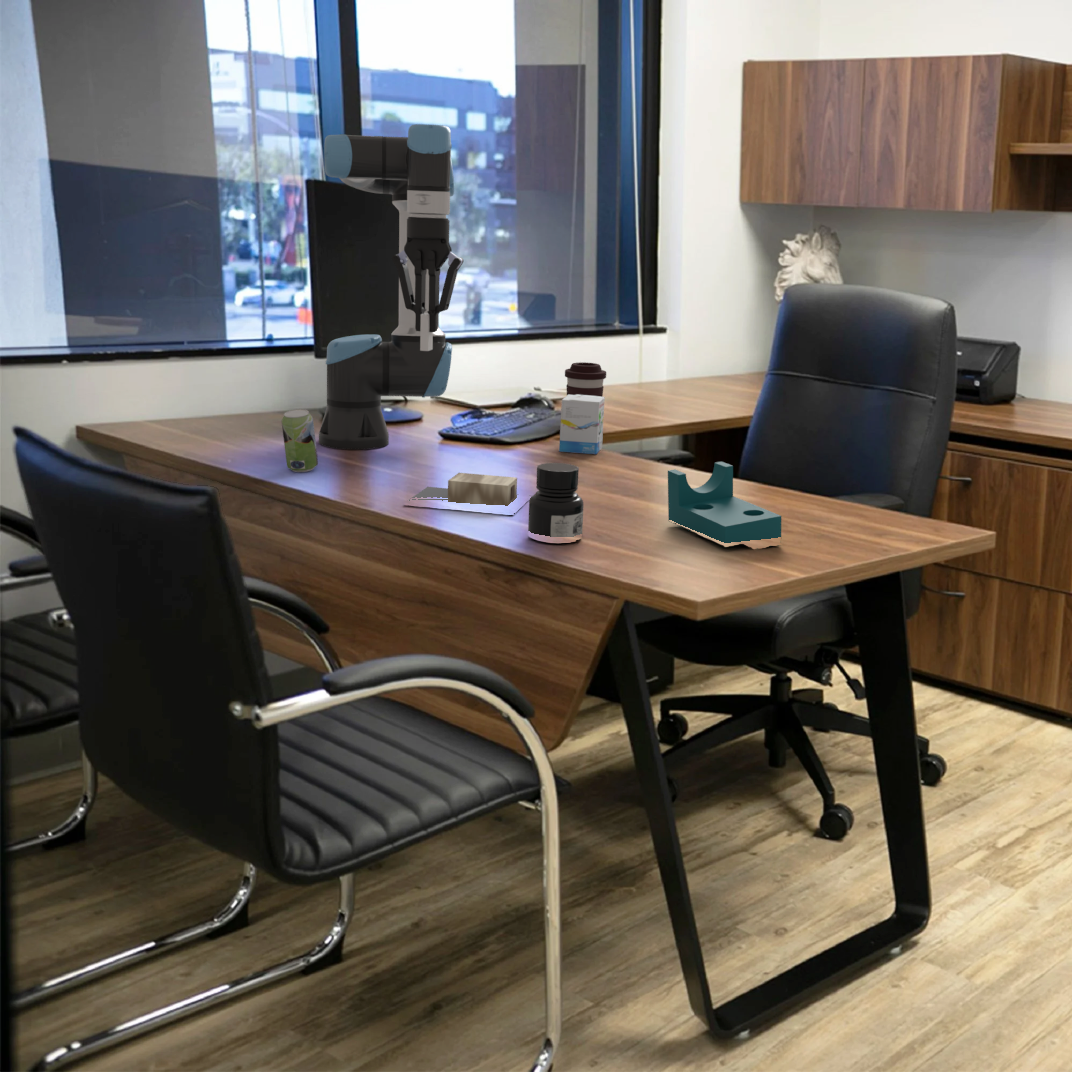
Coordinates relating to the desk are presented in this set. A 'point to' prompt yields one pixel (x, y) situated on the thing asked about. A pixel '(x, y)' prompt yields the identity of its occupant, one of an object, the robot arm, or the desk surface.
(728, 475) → the teal l-shaped bracket
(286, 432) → the beverage can
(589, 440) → the ink box
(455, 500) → the birch block
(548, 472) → the ink bottle
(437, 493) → the felt pad
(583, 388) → the coffee cup
